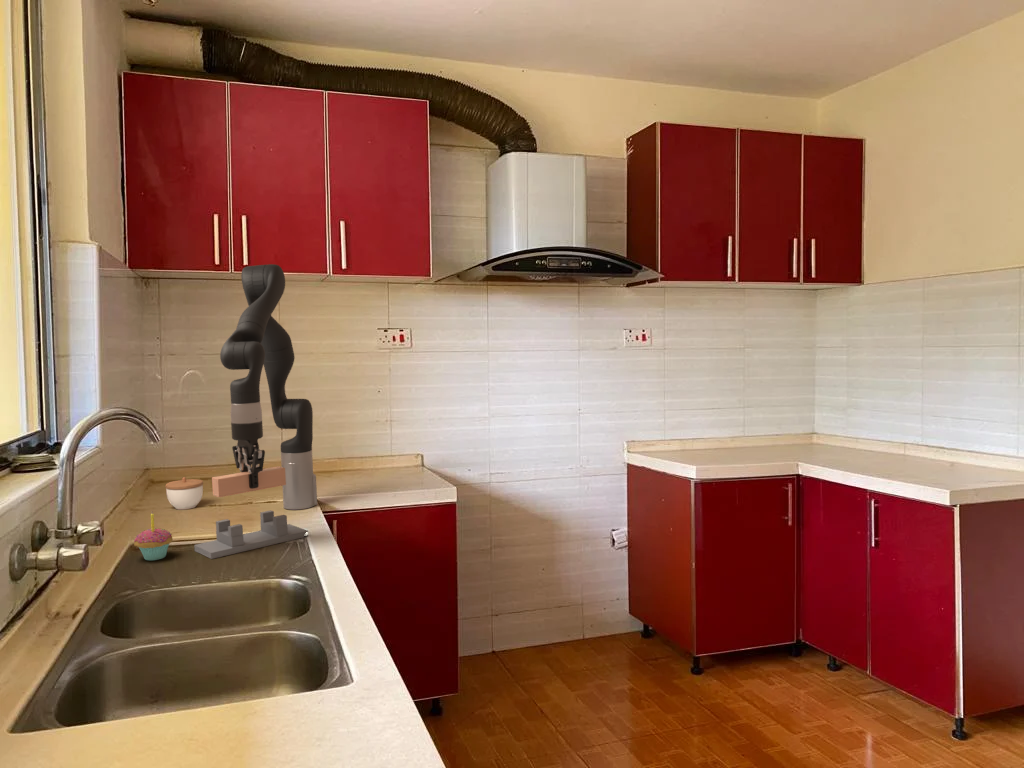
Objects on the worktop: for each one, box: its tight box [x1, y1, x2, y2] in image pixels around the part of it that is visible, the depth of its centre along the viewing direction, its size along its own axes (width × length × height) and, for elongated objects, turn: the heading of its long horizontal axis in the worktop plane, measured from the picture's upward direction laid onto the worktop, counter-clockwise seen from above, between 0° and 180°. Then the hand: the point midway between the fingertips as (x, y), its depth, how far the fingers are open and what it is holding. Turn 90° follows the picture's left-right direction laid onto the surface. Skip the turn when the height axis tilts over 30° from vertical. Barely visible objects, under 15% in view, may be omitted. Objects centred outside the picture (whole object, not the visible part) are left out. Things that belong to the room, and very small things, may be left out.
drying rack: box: [193, 510, 309, 560], centre depth 200 cm, size 26×10×6 cm, turn 134°
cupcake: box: [133, 511, 173, 561], centre depth 190 cm, size 9×8×12 cm
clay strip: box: [211, 466, 286, 498], centre depth 199 cm, size 18×4×4 cm, turn 134°
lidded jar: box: [165, 476, 204, 511], centre depth 241 cm, size 11×11×9 cm
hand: (250, 486), depth 199 cm, fingers closed on clay strip, 3 cm apart
